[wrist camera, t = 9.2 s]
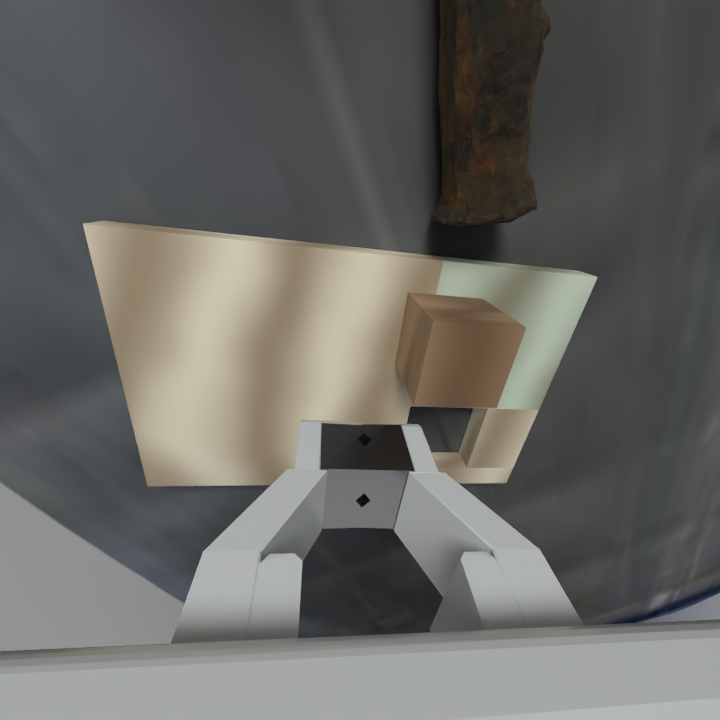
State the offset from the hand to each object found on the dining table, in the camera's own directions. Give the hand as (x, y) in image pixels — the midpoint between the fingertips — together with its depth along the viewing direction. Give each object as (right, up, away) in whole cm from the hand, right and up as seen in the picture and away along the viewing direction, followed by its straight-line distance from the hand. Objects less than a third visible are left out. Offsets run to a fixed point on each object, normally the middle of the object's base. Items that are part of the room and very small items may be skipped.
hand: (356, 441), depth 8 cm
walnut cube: (+4, +4, +9) cm, 11 cm away
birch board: (0, +1, +12) cm, 11 cm away
